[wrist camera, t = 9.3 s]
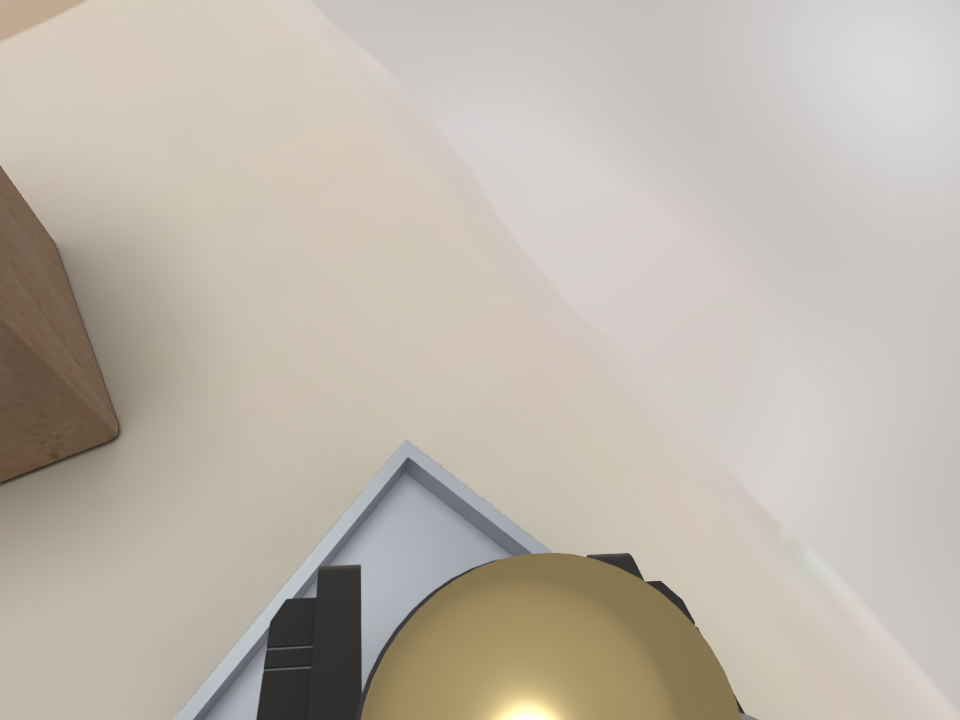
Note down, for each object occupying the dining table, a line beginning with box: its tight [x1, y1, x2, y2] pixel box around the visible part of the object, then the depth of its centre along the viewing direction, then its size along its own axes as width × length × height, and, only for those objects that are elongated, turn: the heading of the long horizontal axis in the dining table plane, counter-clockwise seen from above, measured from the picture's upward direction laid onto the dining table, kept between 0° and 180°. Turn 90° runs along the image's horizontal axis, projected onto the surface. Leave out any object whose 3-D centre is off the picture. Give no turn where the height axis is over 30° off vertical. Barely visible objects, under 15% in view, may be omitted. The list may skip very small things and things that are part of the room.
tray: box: [173, 440, 552, 720], centre depth 29 cm, size 12×14×3 cm
